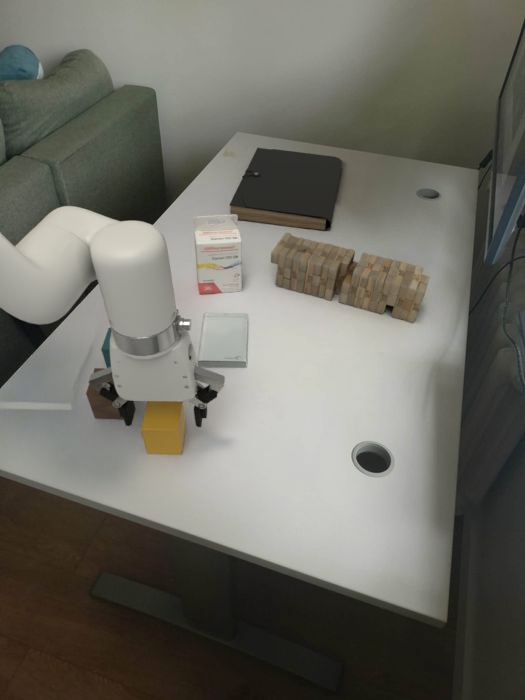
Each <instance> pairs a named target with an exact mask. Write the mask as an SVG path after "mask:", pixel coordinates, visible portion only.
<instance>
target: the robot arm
mask: <svg viewBox="0 0 525 700" xmlns="http://www.w3.org/2000/svg"><path fill="white" fill-rule="evenodd" d="M172 276H173V275H172V270H171V263H170V256H169V249H168V244H167V241H166V238H165V235H163V232H161V230H160V229H159V228H158V227H156V226H155V225H153V224H151V223H148V222H145V221H143V220H142V221H141V220H122V221H121V220H118V219H114V218H111V217H109V216H105V215H103V214H100V213H98V212H95V211H93V210H90V209H86V208H82V207H79V206H73V205H63V206H60V207H57V208H55V209H53V210H52V211H50V212H49V213H48V214H47V215H45V217H43V219H41V221H40V222H39V223H37V225H36V226H35V227H33V228H32V229H31V230H30V231H28V233H27V234H26V235H25V236H24V237H23V238H21V240H19V242H18V243H16V244H15V245H14V244H12V242H11V241H10V240H9V239H8V238H7V237H5V236H4V234H2V232H1V231H0V309H1V310H3V311H5V312H6V313H8V314H9V315H11V316H12V317H14V318H16V319H18V320H21V321H23V322H26V323H28V324H33V325H49V324H52V323H55V322H57V321H59V320H61V318H63V317H64V316H66V315H67V313H69V311H70V310H71V309H72V307H73V306H75V304H76V303H77V301H78V300H79V299H80V298H81V296H82V295H83V293H84V292H85V291H86V289H87V288H88V286H89V285H90V284H91V283H92V282H94V281H96V280H97V284H98V287H99V291H100V294H101V298H102V301H103V305H104V307H105V311H106V312H105V313H106V315H107V319H108V322H109V326H110V328H111V330H112V331H111V337H110V361H111V367H108V368H107V367H106V369H103V370H100V371H98V372H95V373H93V372H92V373H91V374H90V376H89V379H88V385H89V384H90V385H91V386H92V387H94V388H95V389H96V390H98V391H99V392H100V393H99V394H100V395H101V396H103V397H105V398H106V399H108V400H110V401H112V402H113V403H112V405H113V406H114V407H118V410H119V413H120V416H121V417H123V419H122V420H123V421H124V425H125V427H131V426H132V425H133V421H134V417H135V413H136V405H135V402H147V401H179V402H189V403H191V404H192V405H193V415H194V422H195V423H194V424H195V427H197V428H202V426H203V425H202V424H203V419H207V417H208V404H209V403H211V402H212V401H214V400H215V399H217V398H218V394H219V393H220V392H221V391H222V389H223V388H224V387H225V384H226V383H225V382H226V377H225V375H223V374H220V373H217V372H214V371H211V370H209V369H206V368H204V367H199V366H198V359H197V356H196V352H195V348H194V345H193V342H192V339H191V336H190V333H189V332H191V330H192V319H191V318H185V317H182V316H181V315H180V311H179V308H177V303H176V297H175V295H176V294H175V289H174V283H173V277H172ZM111 380H113V381H114V385H113V384H111V383H110V382H108V381H111ZM201 383H203V384H206V385H207V386H205V385H203V384H201Z"/></svg>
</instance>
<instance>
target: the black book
mask: <svg viewBox="0 0 525 700" xmlns="http://www.w3.org/2000/svg"><path fill="white" fill-rule="evenodd" d="M342 166H343V160H342V159H341V158H340V157H338V156H333V155H323V154H316V153H309V152H301V151H292V150H284V149H277V148H264V147H256V150H255V151H254V154H253V156H252V158H251V160H250V162H249V164H248V166H247V168H246V169H245V171H244V173H243V175H242V178H241V181H240V182H239V185H238V186H237V188H236V190H235V192H234V194H233V197H232V198H231V200H230V202H229V208H230V210H229V212H230V214H229V215H232V214H236V215H237V216H238V221H245V222H253V223H260V224H268V225H276V226H283V227H289V228H290V227H291V228H299V229H306V230H313V231H320V232H324V231H327V230H329V229H330V228H331V227H332V221H333V216H334V211H335V205H336V199H337V194H338V189H339V183H340V178H341V172H342Z"/></svg>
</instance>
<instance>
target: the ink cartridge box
mask: <svg viewBox="0 0 525 700" xmlns="http://www.w3.org/2000/svg"><path fill="white" fill-rule="evenodd" d="M215 220H216V221H218V222H219V221H220V222H221V221H222V222H221V223H220V222H219V223H210V222H214V221H215ZM193 222H194V223H193V224H194V231H193V236H194V237H193V238H194V249H195V250H194V252H195V265H196V281H197V287H198V294H199V295H210V294H211V295H212V294H224V293H239V292H242V290H243V289H242V288H243V284H242V283H243V280H242V279H243V278H242V277H243V242H242V237H241V234H240V229H239V228H238V225H239V224H238V222H239V220H238V216H237V215H236V214H232V215H230V214H216V215H215V214H214V215H213V214H211V215H196V216H194V219H193Z"/></svg>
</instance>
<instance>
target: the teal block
mask: <svg viewBox="0 0 525 700" xmlns="http://www.w3.org/2000/svg"><path fill="white" fill-rule="evenodd" d="M111 331H112V330H111V327H108V329H107V332H106V335H105V338H104V340H103V344H102V346H101V349H100V350H101V353H102V356H103V359H104V360H103V361H104V363H105V367H106V368H108V367H111V361H110V337H111Z"/></svg>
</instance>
